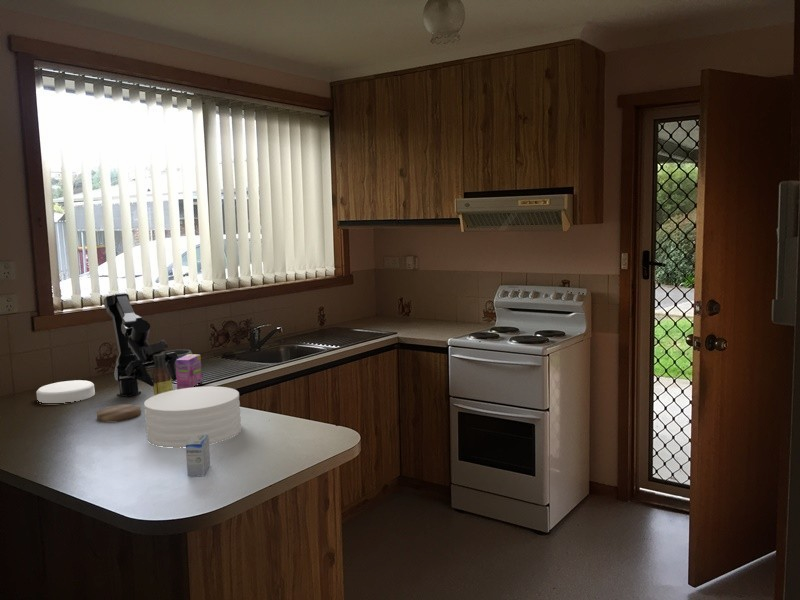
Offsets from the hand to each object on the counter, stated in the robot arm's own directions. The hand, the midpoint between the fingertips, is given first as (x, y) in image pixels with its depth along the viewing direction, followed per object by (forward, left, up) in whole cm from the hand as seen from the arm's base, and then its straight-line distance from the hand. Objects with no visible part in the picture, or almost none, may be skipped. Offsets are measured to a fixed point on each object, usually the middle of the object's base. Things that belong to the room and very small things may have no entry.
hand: (164, 382), depth 242 cm
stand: (-11, -11, -10) cm, 18 cm away
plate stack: (+28, -17, -10) cm, 34 cm away
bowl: (-36, +43, -10) cm, 57 cm away
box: (-17, +30, -10) cm, 36 cm away
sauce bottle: (-1, 0, -10) cm, 10 cm away
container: (-52, +1, -10) cm, 53 cm away
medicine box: (+52, -42, -10) cm, 67 cm away
